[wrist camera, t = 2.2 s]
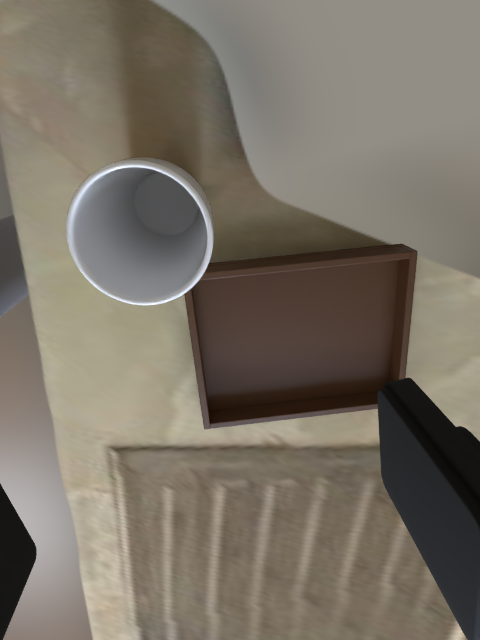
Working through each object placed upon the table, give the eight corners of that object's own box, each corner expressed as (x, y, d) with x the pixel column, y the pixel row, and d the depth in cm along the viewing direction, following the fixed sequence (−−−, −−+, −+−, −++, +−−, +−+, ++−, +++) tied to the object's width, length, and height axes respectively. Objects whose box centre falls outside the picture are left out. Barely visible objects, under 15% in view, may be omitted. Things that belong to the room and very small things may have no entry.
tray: (204, 411, 40) (204, 429, 37) (183, 265, 34) (181, 275, 31) (390, 389, 41) (402, 405, 38) (402, 243, 35) (417, 250, 32)
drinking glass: (133, 144, 30) (71, 137, 16) (220, 169, 31) (231, 182, 17) (119, 231, 32) (55, 290, 19) (200, 251, 33) (197, 321, 20)
